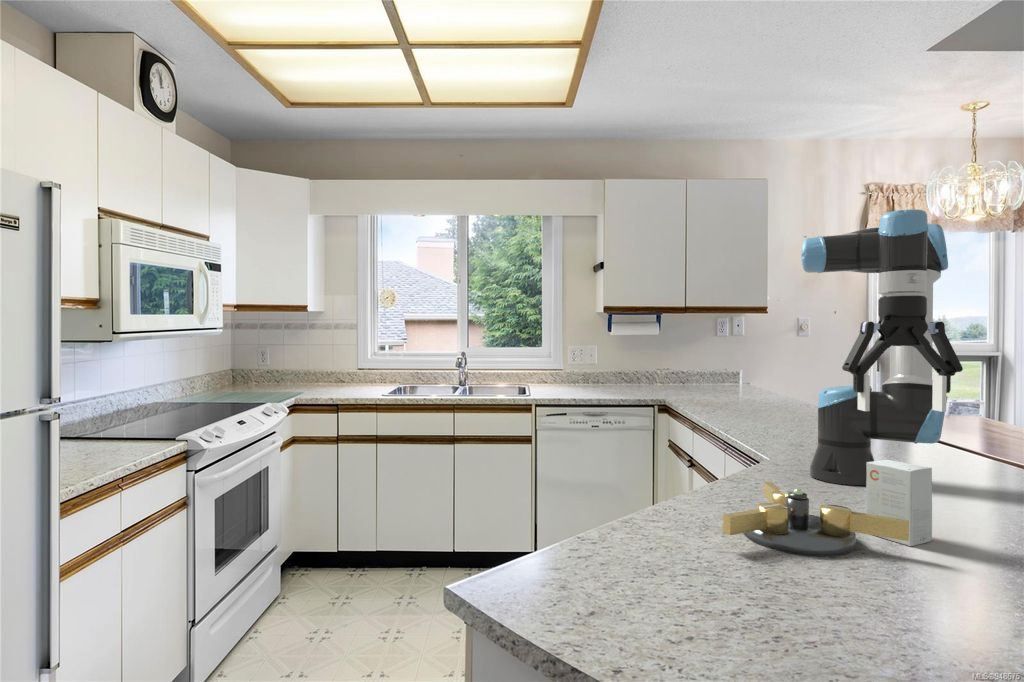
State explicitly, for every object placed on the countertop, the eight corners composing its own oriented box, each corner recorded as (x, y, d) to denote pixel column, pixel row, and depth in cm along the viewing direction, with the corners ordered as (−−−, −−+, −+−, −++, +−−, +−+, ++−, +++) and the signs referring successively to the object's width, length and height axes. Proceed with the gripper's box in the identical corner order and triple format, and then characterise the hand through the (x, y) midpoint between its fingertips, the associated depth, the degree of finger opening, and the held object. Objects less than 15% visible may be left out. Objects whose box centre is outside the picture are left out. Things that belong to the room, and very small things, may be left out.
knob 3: (817, 532, 103) (817, 507, 103) (822, 525, 107) (822, 501, 107) (907, 548, 96) (908, 521, 96) (909, 540, 100) (909, 514, 100)
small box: (932, 541, 105) (933, 467, 105) (910, 547, 103) (911, 470, 102) (886, 528, 113) (887, 458, 113) (864, 533, 110) (865, 461, 110)
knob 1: (771, 523, 108) (771, 500, 108) (794, 531, 104) (794, 507, 104) (716, 533, 103) (716, 508, 103) (737, 542, 98) (737, 516, 98)
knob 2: (803, 519, 111) (803, 496, 111) (776, 518, 111) (776, 495, 111) (779, 500, 124) (779, 479, 123) (755, 499, 124) (755, 478, 124)
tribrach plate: (731, 520, 117) (732, 475, 117) (828, 523, 115) (829, 477, 115) (760, 554, 99) (761, 501, 99) (876, 558, 98) (876, 504, 97)
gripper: (843, 294, 108) (842, 412, 108) (987, 294, 107) (986, 413, 107) (823, 296, 116) (822, 407, 116) (958, 296, 114) (956, 408, 115)
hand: (901, 410), depth 112 cm, fingers open, 13 cm apart
